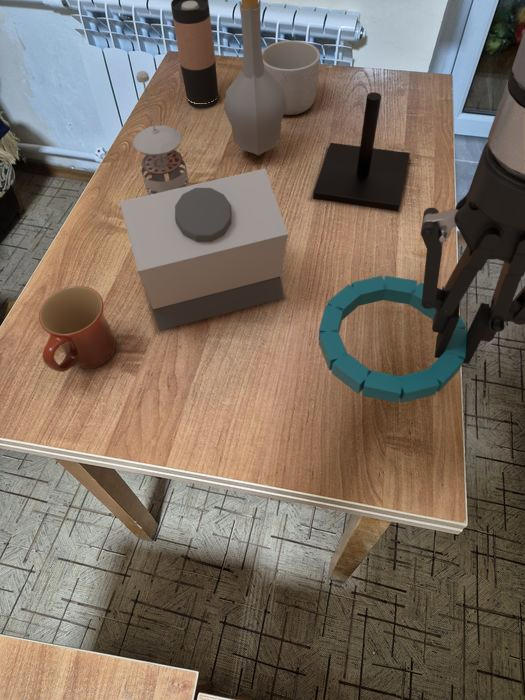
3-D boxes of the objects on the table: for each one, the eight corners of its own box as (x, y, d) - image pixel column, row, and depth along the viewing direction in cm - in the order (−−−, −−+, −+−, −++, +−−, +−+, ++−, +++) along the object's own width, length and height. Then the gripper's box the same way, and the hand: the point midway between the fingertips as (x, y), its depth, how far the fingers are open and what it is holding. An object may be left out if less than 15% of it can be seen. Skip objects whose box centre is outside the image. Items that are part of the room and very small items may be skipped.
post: (408, 159, 102) (427, 76, 89) (398, 211, 94) (417, 128, 80) (329, 148, 105) (336, 67, 92) (312, 198, 97) (317, 116, 83)
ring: (465, 300, 58) (470, 289, 56) (456, 415, 50) (462, 406, 48) (334, 278, 61) (335, 267, 59) (306, 384, 53) (307, 374, 51)
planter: (261, 121, 112) (259, 70, 103) (263, 90, 119) (261, 40, 110) (317, 120, 111) (320, 69, 102) (316, 89, 118) (319, 39, 109)
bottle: (277, 174, 101) (275, 5, 76) (223, 167, 103) (203, -1, 78) (290, 141, 107) (292, -26, 82) (239, 135, 109) (225, -31, 84)
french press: (148, 226, 94) (109, 93, 73) (144, 186, 101) (107, 54, 80) (200, 217, 95) (177, 83, 74) (193, 179, 101) (169, 46, 81)
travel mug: (185, 93, 119) (168, -4, 103) (217, 88, 120) (206, -9, 103) (188, 111, 115) (171, 12, 99) (221, 106, 116) (211, 7, 99)
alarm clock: (258, 243, 91) (252, 139, 74) (287, 308, 82) (288, 208, 65) (144, 271, 88) (111, 170, 71) (162, 342, 79) (129, 246, 62)
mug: (83, 323, 82) (60, 279, 73) (132, 336, 80) (114, 293, 71) (42, 384, 76) (11, 345, 67) (94, 400, 74) (69, 362, 65)
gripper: (658, 134, 35) (527, 336, 54) (433, 110, 38) (385, 310, 57) (676, 205, 31) (528, 395, 50) (423, 172, 34) (375, 364, 53)
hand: (452, 350), depth 54 cm, fingers closed on ring, 2 cm apart
